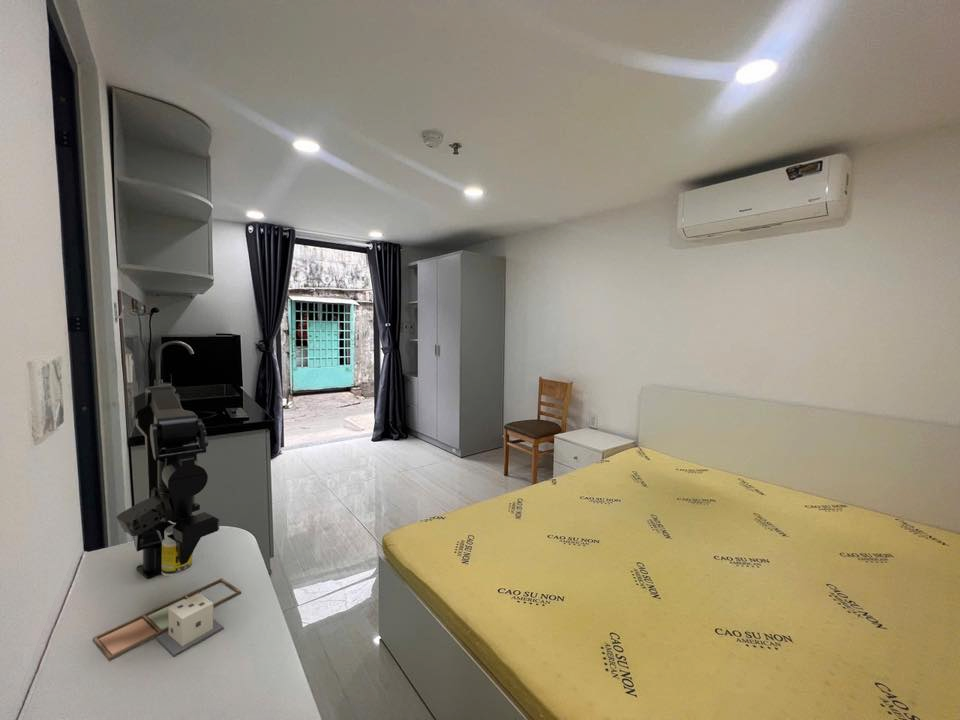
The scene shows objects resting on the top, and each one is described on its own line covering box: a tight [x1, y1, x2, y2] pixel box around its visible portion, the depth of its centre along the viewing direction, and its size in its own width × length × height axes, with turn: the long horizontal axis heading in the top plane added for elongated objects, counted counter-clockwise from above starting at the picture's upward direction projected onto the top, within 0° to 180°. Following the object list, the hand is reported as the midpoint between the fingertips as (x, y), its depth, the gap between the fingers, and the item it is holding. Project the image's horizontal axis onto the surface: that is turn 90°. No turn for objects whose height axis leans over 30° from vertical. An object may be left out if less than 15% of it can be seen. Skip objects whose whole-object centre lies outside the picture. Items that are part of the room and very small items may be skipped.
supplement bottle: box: [161, 525, 193, 577], centre depth 78 cm, size 5×5×8 cm
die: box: [169, 593, 214, 646], centre depth 74 cm, size 5×5×5 cm
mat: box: [155, 618, 225, 658], centre depth 74 cm, size 7×8×1 cm
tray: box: [92, 578, 242, 662], centre depth 78 cm, size 8×21×1 cm, turn 149°
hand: (176, 559), depth 78 cm, fingers closed on supplement bottle, 5 cm apart
